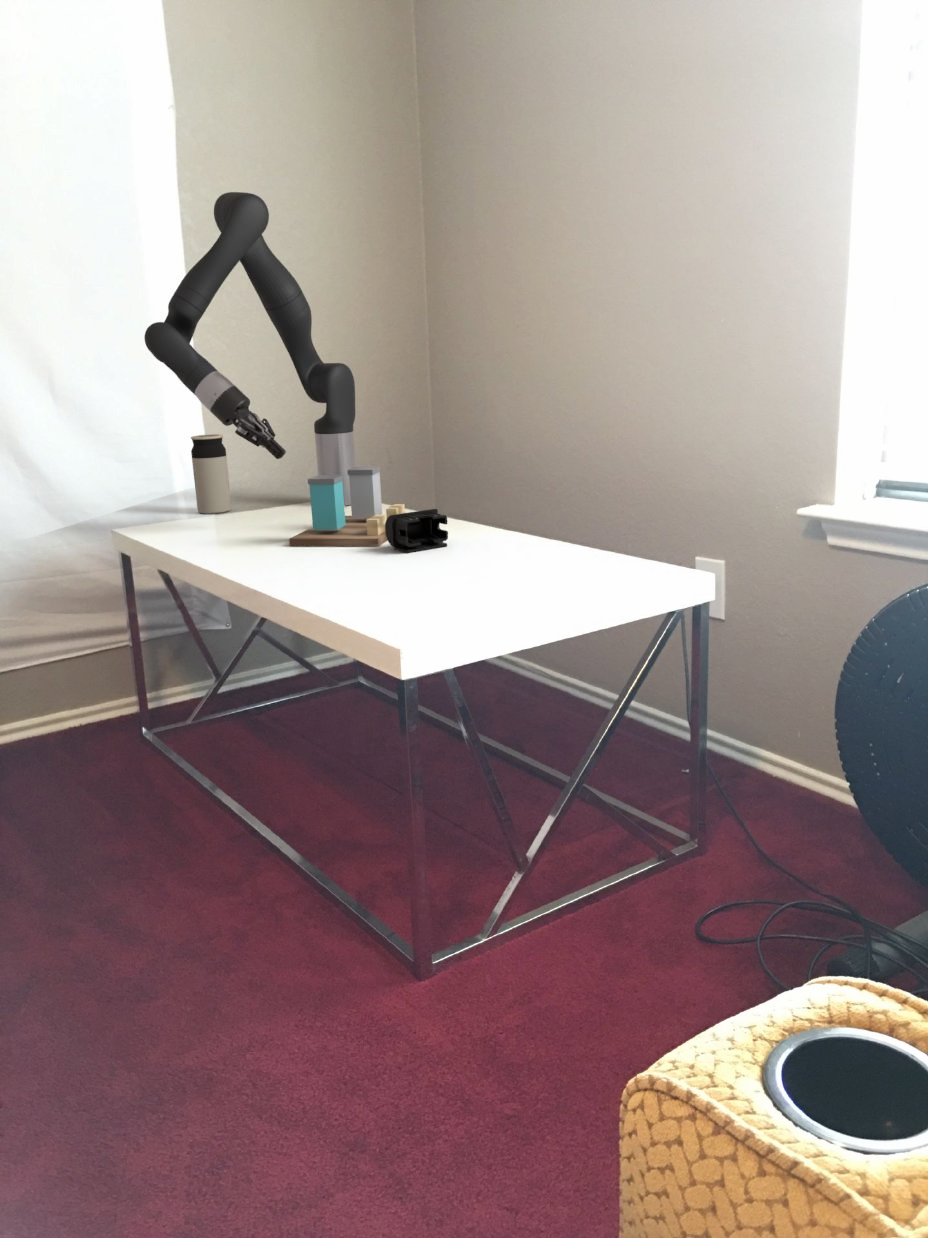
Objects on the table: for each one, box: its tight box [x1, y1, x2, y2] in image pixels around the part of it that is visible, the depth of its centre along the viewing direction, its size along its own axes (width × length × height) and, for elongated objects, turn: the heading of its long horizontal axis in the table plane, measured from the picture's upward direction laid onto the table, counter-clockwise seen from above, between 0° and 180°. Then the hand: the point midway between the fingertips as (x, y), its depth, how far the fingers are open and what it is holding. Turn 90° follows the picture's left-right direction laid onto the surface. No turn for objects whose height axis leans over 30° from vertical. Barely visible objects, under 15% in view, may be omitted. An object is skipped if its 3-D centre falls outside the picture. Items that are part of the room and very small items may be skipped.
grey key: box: [347, 466, 383, 518], centre depth 216 cm, size 5×5×10 cm
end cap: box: [385, 508, 449, 554], centre depth 194 cm, size 10×7×7 cm
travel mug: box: [190, 433, 233, 515], centre depth 246 cm, size 8×8×18 cm
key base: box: [288, 503, 406, 548], centre depth 211 cm, size 26×18×4 cm
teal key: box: [307, 474, 346, 530], centre depth 204 cm, size 5×5×10 cm
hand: (282, 455), depth 217 cm, fingers closed
